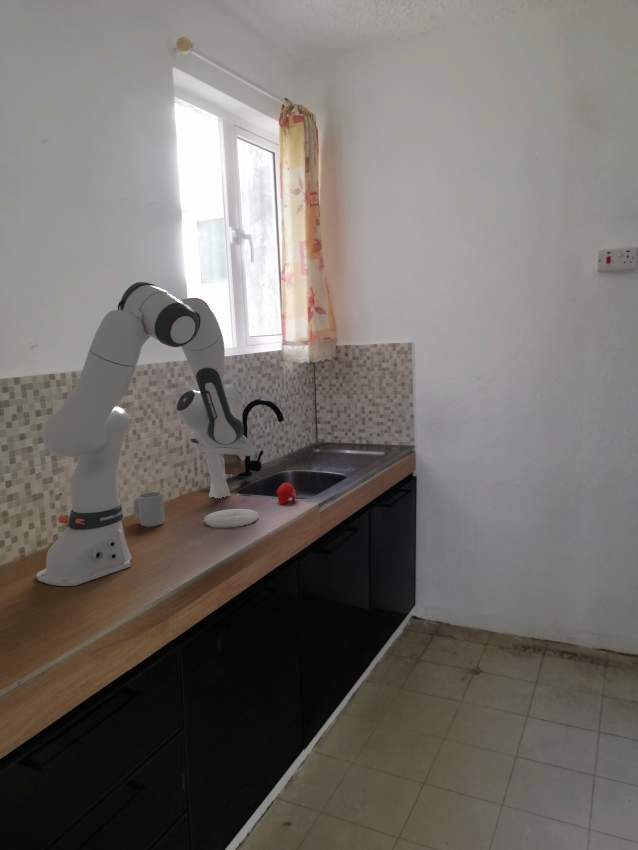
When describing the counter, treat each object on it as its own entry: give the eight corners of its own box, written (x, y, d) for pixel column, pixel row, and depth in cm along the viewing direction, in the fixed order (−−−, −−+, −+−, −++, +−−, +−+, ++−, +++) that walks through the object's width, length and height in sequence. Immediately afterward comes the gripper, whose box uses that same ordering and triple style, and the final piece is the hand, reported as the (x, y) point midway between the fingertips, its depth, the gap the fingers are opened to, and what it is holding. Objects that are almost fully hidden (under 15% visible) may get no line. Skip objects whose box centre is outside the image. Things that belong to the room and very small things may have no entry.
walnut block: (236, 474, 196) (235, 449, 195) (225, 473, 198) (223, 449, 197) (245, 472, 200) (243, 447, 199) (234, 471, 202) (232, 446, 201)
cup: (155, 528, 184) (152, 498, 183) (127, 525, 188) (124, 496, 186) (169, 521, 190) (167, 492, 189) (142, 518, 194) (140, 490, 193)
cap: (280, 488, 212) (271, 482, 207) (296, 483, 210) (287, 477, 205) (283, 510, 208) (274, 505, 203) (299, 505, 206) (291, 499, 201)
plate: (236, 530, 177) (236, 526, 177) (193, 524, 185) (193, 520, 185) (268, 515, 191) (268, 511, 191) (227, 510, 199) (226, 506, 199)
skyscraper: (222, 492, 223) (216, 414, 220) (236, 495, 219) (230, 415, 215) (204, 497, 218) (198, 417, 214) (218, 500, 213) (212, 418, 209)
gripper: (244, 425, 186) (265, 452, 195) (192, 423, 196) (215, 448, 206) (235, 442, 182) (257, 469, 192) (183, 439, 193) (207, 464, 203)
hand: (235, 458), depth 199 cm, fingers closed on walnut block, 5 cm apart
